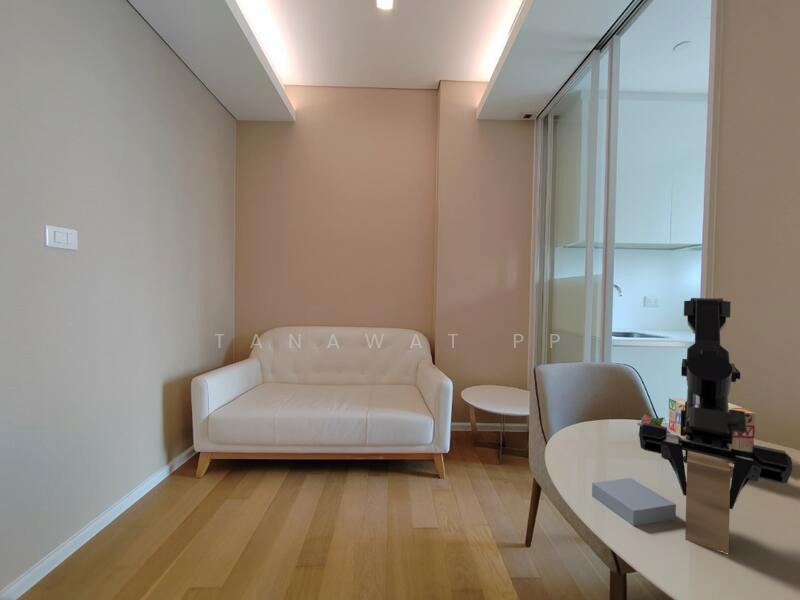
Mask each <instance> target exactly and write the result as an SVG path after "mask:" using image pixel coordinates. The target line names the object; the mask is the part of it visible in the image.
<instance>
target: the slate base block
mask: <svg viewBox="0 0 800 600" xmlns="http://www.w3.org/2000/svg"><path fill="white" fill-rule="evenodd" d="M591 497H592V498H593V499H595V500H596V501H598V502H599V503H601V504H602V505H603V506H605V507H606V508H608V509H609V510H610V511H611V512H613V513H615V514H616V515H617V516H619V517H620V518H621V519H623V520H624V521H625V522H627V523H628V524H629V525H631V526H632V527H636V526H641V525H647V524H648V525H650V524H654V523H659V522H660V523H661V522H667V521H673V520H676V513H677V512H676V511H677V504H676V503H674V502H673V501H671V500H669V499H668V498H666V497H664V496H663V495H661V494H659V493H658V492H655V491H653V490H652V489H650V488H649V487H647V486H645V485H643V484H642V483H640V482H639V481H636V479H635V480H634V479H633V478H631V477H628V478H621V479H620V478H619V479H612V480H604V481H595V482H592V483H591Z"/></svg>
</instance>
